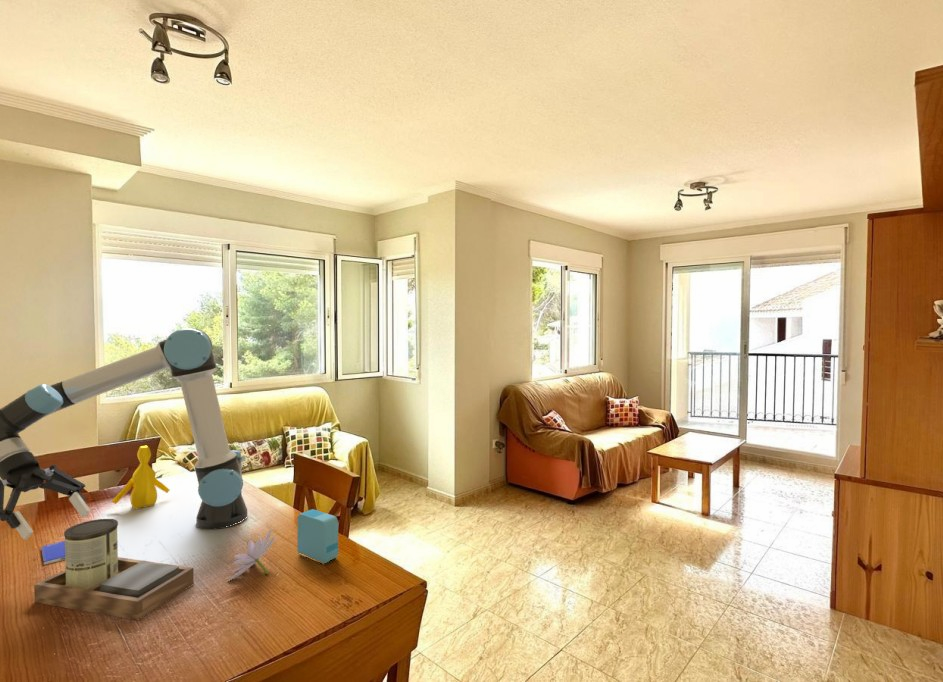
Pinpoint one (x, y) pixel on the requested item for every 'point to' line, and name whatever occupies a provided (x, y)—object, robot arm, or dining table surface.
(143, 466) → the figure statuette
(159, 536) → the dining table surface
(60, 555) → the hard drive
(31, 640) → the dining table surface
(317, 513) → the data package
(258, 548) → the water lily
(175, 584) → the wooden tray
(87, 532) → the coffee can
